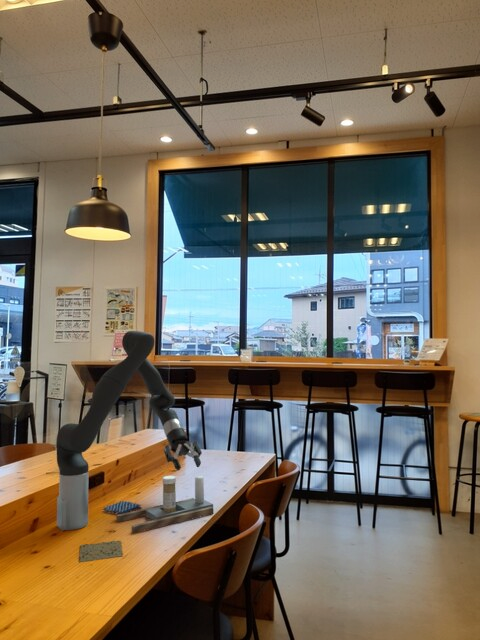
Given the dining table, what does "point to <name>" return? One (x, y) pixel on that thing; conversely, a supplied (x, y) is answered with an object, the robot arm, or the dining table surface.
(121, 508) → the woven mat
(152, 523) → the guide rails
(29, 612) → the dining table surface
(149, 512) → the grey tray with post
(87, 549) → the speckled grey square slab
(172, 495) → the sprinkles bottle
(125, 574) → the dining table surface
